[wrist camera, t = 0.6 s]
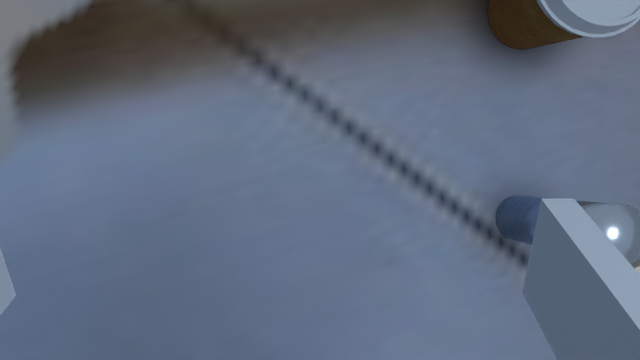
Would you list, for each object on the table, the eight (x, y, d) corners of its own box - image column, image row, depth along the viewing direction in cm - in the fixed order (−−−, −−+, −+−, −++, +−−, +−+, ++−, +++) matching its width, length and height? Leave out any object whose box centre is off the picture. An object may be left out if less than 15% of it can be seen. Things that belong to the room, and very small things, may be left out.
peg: (543, 230, 49) (658, 251, 35) (504, 246, 49) (605, 275, 35) (528, 189, 49) (637, 195, 35) (489, 205, 49) (584, 218, 35)
